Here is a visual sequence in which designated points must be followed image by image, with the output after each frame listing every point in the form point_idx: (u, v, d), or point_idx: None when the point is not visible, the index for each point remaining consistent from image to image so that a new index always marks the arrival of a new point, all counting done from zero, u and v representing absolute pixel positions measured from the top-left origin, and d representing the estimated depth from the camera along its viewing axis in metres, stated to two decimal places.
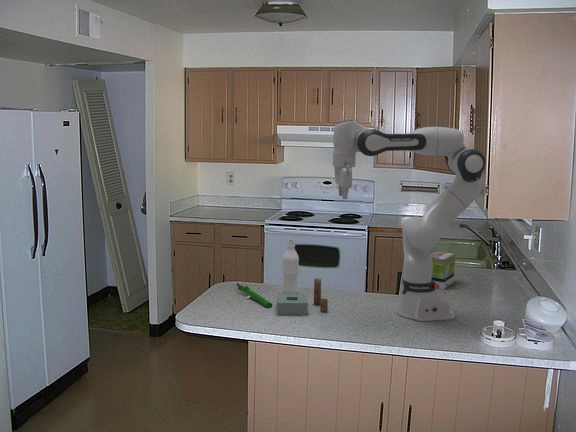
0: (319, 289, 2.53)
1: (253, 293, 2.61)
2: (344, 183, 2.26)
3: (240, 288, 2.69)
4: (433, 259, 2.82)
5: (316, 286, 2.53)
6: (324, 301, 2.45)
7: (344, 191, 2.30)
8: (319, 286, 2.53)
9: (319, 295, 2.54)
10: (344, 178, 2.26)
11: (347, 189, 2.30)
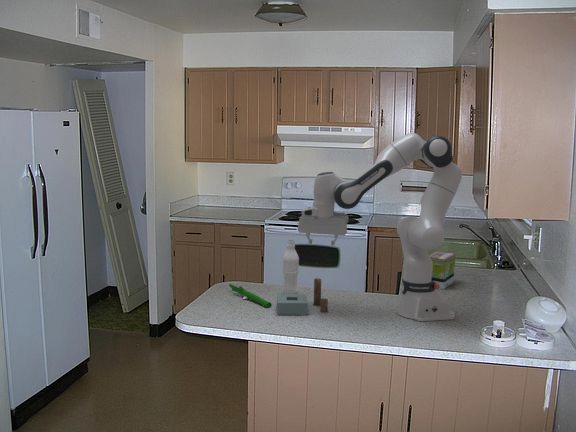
0: (319, 289, 2.53)
1: (250, 293, 2.60)
2: (346, 230, 2.47)
3: (234, 289, 2.68)
4: (433, 259, 2.82)
5: (316, 286, 2.53)
6: (324, 301, 2.45)
7: None
8: (319, 286, 2.53)
9: (319, 295, 2.54)
10: (346, 226, 2.46)
11: None
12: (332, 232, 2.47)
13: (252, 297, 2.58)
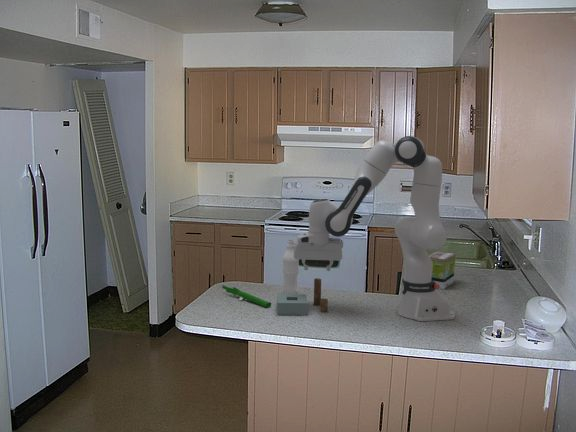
0: (319, 289, 2.53)
1: (246, 294, 2.59)
2: None
3: (229, 290, 2.66)
4: (433, 259, 2.82)
5: (316, 286, 2.53)
6: (324, 301, 2.45)
7: None
8: (319, 286, 2.53)
9: (319, 295, 2.54)
10: (341, 251, 2.51)
11: None
12: (328, 258, 2.51)
13: (249, 298, 2.57)
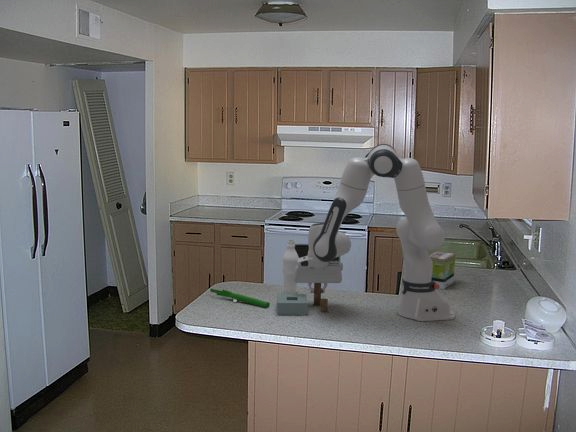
0: (319, 289, 2.53)
1: (241, 296, 2.56)
2: (341, 278, 2.53)
3: (220, 293, 2.61)
4: (433, 259, 2.82)
5: (316, 286, 2.53)
6: (324, 301, 2.45)
7: None
8: (319, 286, 2.53)
9: (319, 295, 2.54)
10: (341, 274, 2.53)
11: None
12: (328, 280, 2.52)
13: (245, 299, 2.55)
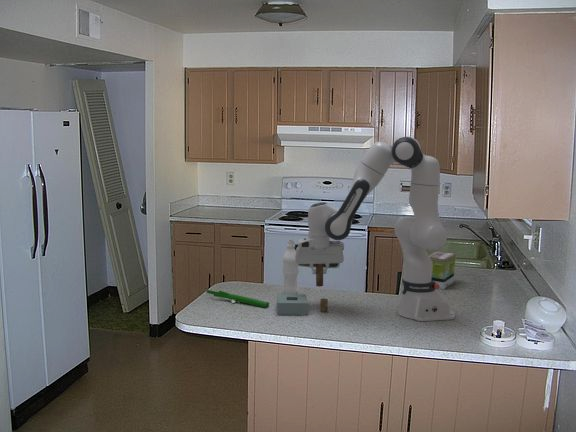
0: (321, 270, 2.52)
1: (239, 296, 2.56)
2: (343, 258, 2.52)
3: (217, 294, 2.59)
4: (433, 259, 2.82)
5: (318, 267, 2.52)
6: (324, 301, 2.45)
7: None
8: (321, 267, 2.52)
9: (321, 276, 2.53)
10: None
11: None
12: (330, 261, 2.51)
13: (244, 299, 2.54)
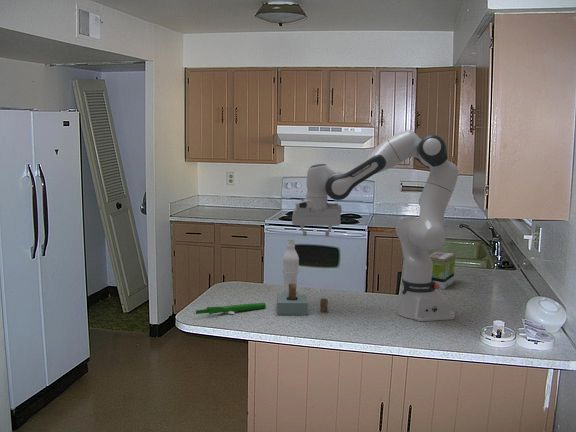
0: (294, 294, 2.45)
1: (236, 306, 2.43)
2: (340, 221, 2.51)
3: (212, 311, 2.37)
4: (433, 259, 2.82)
5: (291, 291, 2.45)
6: (324, 301, 2.45)
7: None
8: (294, 291, 2.45)
9: None
10: None
11: None
12: (326, 223, 2.50)
13: (242, 307, 2.44)
